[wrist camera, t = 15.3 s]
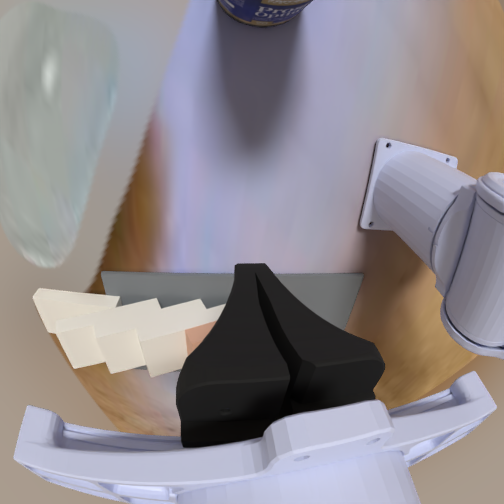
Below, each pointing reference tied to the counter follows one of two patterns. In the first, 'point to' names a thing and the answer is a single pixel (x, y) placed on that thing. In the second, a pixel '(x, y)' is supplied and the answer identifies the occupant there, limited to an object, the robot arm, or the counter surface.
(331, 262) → the counter surface
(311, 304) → the slate mat
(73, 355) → the domino
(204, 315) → the domino
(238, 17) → the pill bottle
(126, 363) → the domino
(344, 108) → the counter surface
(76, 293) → the domino
